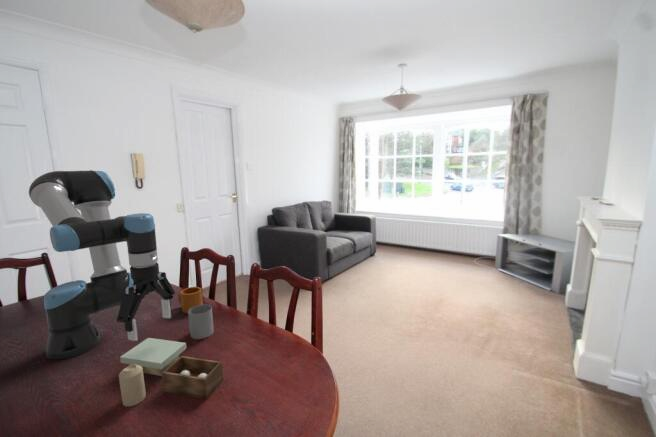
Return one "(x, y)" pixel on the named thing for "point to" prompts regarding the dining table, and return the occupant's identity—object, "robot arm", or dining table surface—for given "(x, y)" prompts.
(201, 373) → the ball
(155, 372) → the block
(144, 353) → the lid
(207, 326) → the cup
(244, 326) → the dining table surface
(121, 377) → the candle
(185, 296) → the mug
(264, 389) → the dining table surface
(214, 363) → the walnut box
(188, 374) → the ball
